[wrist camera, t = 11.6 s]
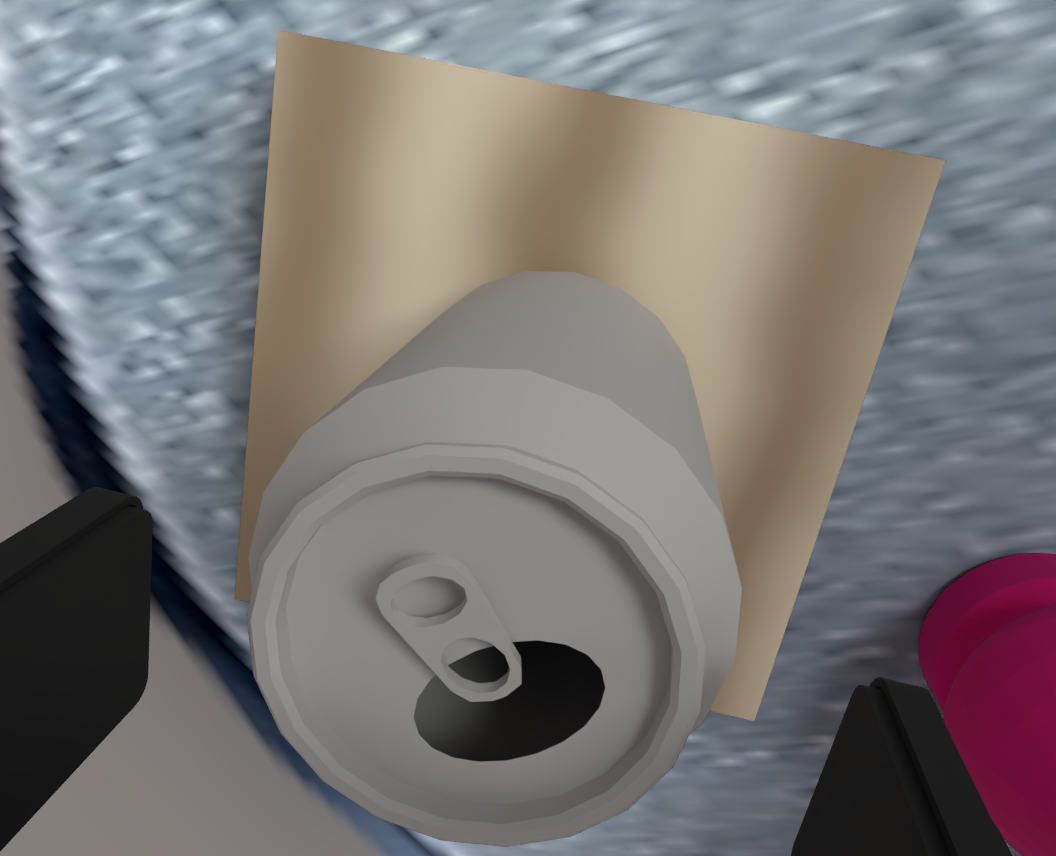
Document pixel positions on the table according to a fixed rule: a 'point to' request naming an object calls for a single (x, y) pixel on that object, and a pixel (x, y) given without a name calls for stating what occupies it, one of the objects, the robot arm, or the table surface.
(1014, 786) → the pepper mill
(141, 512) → the robot arm
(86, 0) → the table surface
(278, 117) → the plinth
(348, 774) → the can
